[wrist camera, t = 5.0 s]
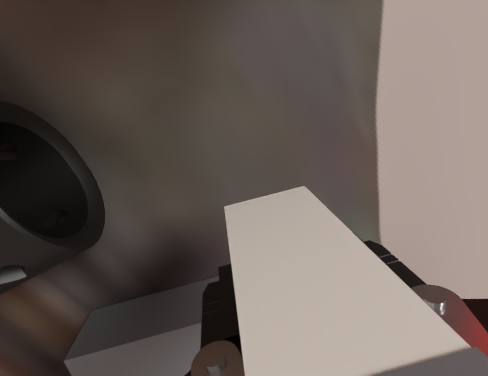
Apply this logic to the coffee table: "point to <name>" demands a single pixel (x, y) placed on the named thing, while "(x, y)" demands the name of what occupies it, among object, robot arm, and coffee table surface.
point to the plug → (329, 299)
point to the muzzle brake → (42, 198)
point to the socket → (142, 335)
